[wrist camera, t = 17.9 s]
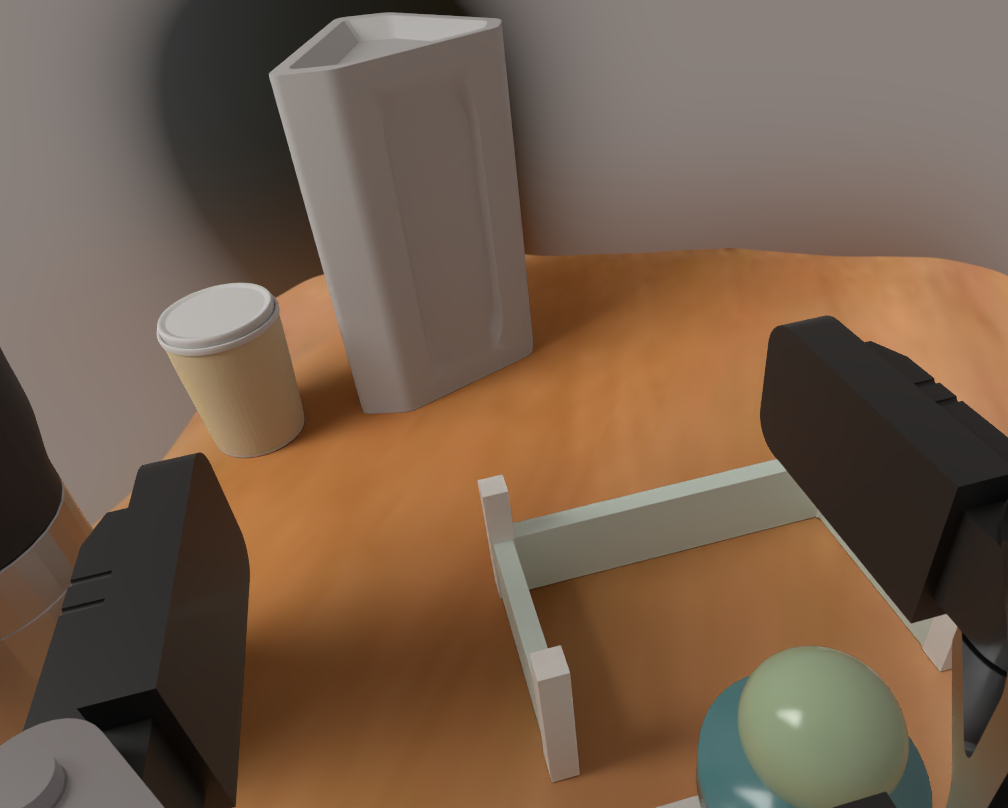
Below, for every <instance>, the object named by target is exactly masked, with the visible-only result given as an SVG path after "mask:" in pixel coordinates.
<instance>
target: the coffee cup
mask: <svg viewBox="0 0 1008 808" xmlns="http://www.w3.org/2000/svg"><path fill="white" fill-rule="evenodd" d="M157 338H158V341H159V343H160V344H161V346H162V347H163V348H164V349H165V350H166V352H167V354H168V356H169V358H170V360H171V362H172V364H173V366H174V368H175V370H176V372H177V373H178V375H179V377H180V379H181V381H182V383H183V385H184V386H185V388H186V390H187V392H188V394H189V396H190V398H191V399H192V401H193V403H194V405H195V406H196V409H197V410H198V412H199V414H200V416H201V418H202V419H203V421H204V423H205V425H206V427H207V429H208V430H209V432H210V434H211V436H212V438H213V439H214V441H215V443H216V444H217V446H218V447H219V449H220V450H221V451H222V452H224V453H225V454H227V455H229V456H232V457H238V458H251V457H258V456H262V455H266V454H269V453H272V452H274V451H276V450H278V449H280V448H282V447H284V446H285V445H287V444H288V443H290V442H291V441H292V440H293V439H295V438H296V436H297V435H298V434H299V433H300V432H301V430H302V428H303V426H304V420H305V418H304V411H303V407H302V402H301V398H300V394H299V390H298V386H297V382H296V378H295V374H294V370H293V365H292V361H291V358H290V354H289V350H288V346H287V342H286V338H285V334H284V330H283V326H282V322H281V319H280V316H279V305H278V302H277V300H276V298H275V297H274V296H273V295H271V293H270V292H269V291H268V290H267V289H265V288H264V287H261V286H259V285H256V284H250V283H231V284H223V285H218V286H213V287H209V288H206V289H203V290H200V291H197V292H195V293H192V294H190V295H188V296H186V297H184V298H182V299H180V300H178V301H177V302H175V303H174V304H172V305H171V306H170V307H168V308H167V309H166V310H165V311H164V312H163V313H162V315H161V316H160V318H159V320H158V325H157Z"/></svg>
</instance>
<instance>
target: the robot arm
mask: <svg viewBox="0 0 1008 808" xmlns="http://www.w3.org/2000/svg"><path fill="white" fill-rule="evenodd" d="M956 397H957V396H956V395H954V394H953V393H952V392H951V391H949V390H948V389H947V388H946V387H944V386H943V385H942V384H941V383H937V384H936V383H935V381H934V378H933V377H932V376H931V375H929V374H928V373H927V372H926V371H924V370H923V369H922V368H921V367H919V366H918V365H917V364H916V363H914V362H913V361H912V360H911V359H909V358H908V357H907V356H904V355H902V354H900V353H897V352H895V351H893V350H890V349H888V348H886V347H883V346H881V345H879V344H876V343H874V342H872V341H869V342H863V341H862V340H861V339H860V338H859V337H857V336H856V335H855V334H854V333H853V332H851V331H850V330H849V329H848V328H847V327H845V326H844V325H843V324H842V323H841V322H839V321H838V320H837V319H836V318H834V317H832V316H827V315H826V316H822V317H817V318H812V319H808V320H803V321H799V322H794V323H790V324H785V325H781V326H777V327H776V328H774V329H773V331H772V332H771V335H770V338H769V343H768V351H767V359H766V367H765V376H764V384H763V392H762V401H761V409H760V421H761V427H762V432H763V435H764V438H765V441H766V443H767V445H768V447H769V449H770V450H771V452H772V453H773V455H774V456H775V457H776V458H777V460H778V461H779V462H780V463H781V465H782V466H783V467H784V468H785V469H786V471H787V472H788V473H789V474H790V476H791V477H792V478H793V479H794V481H795V482H796V483H797V484H798V485H799V487H800V488H801V489H802V490H803V492H804V493H805V494H806V495H807V497H808V498H809V499H810V500H811V501H812V503H813V504H814V505H815V506H816V508H817V509H818V510H819V511H820V513H821V514H822V515H823V516H824V517H825V519H826V520H827V521H828V522H829V524H830V525H831V526H832V527H833V529H834V530H835V531H836V532H837V533H838V535H839V536H840V537H841V538H842V540H843V541H844V542H845V543H846V545H847V546H848V547H849V548H850V549H851V551H852V552H853V553H854V554H855V556H856V557H857V558H858V559H859V561H860V562H861V563H862V564H863V565H864V567H865V568H866V569H867V570H868V572H869V573H870V574H871V575H872V577H873V578H874V579H875V580H876V581H877V583H878V584H879V585H880V586H881V588H882V589H883V590H884V591H885V593H886V594H887V595H888V596H889V597H890V599H891V600H892V601H893V602H894V604H895V605H896V606H897V607H898V609H899V610H900V611H901V612H902V613H903V615H904V616H905V617H906V618H907V620H908V621H909V622H910V623H911V624H912V623H915V622H919V621H923V620H926V619H930V618H934V617H937V616H941V615H944V614H947V615H948V616H949V618H950V619H951V620H952V621H953V622H954V623H955V624H956V626H957V629H956V632H955V634H954V637H953V640H952V781H951V788H950V793H949V798H948V802H947V806H946V808H1008V437H1007V436H1005V435H1004V434H1003V433H1002V432H1000V431H999V430H998V429H997V428H995V427H994V426H993V425H992V424H990V423H989V422H988V421H987V420H985V419H984V418H983V417H982V416H980V415H979V414H978V413H977V412H975V411H974V410H973V409H972V408H970V407H969V406H968V405H967V404H965V403H964V402H963V401H960V402H958V401H957V398H956ZM249 583H250V568H249V559H248V553H247V549H246V545H245V541H244V538H243V535H242V532H241V530H240V528H239V526H238V523H237V521H236V519H235V517H234V515H233V512H232V510H231V508H230V506H229V504H228V501H227V499H226V497H225V495H224V493H223V490H222V488H221V486H220V484H219V482H218V479H217V477H216V475H215V473H214V471H213V468H212V466H211V464H210V462H209V460H208V459H207V457H206V456H205V455H204V454H203V453H195V454H191V455H186V456H182V457H177V458H173V459H168V460H164V461H159V462H155V463H150V464H146V465H142V466H141V467H140V468H139V470H138V473H137V476H136V480H135V484H134V487H133V491H132V495H131V499H130V503H129V507H128V508H126V509H122V510H117V511H113V512H108V513H106V514H105V516H104V517H103V518H102V520H101V521H100V522H99V523H98V525H97V526H96V527H95V528H94V530H93V529H92V527H91V525H90V524H89V522H88V521H87V520H86V518H85V516H84V515H83V513H82V512H81V510H80V508H79V507H78V505H77V504H76V502H75V500H74V499H73V497H72V496H71V494H70V492H69V491H68V489H67V488H66V486H65V485H64V483H63V481H62V479H61V478H60V476H59V475H58V473H57V472H56V470H55V468H54V467H53V465H52V464H51V462H50V460H49V458H48V456H47V453H46V450H45V447H44V444H43V441H42V437H41V434H40V430H39V427H38V424H37V421H36V418H35V414H34V412H33V409H32V407H31V405H30V402H29V400H28V398H27V396H26V394H25V392H24V390H23V389H22V387H21V385H20V383H19V381H18V379H17V377H16V375H15V374H14V372H13V370H12V369H11V367H10V365H9V363H8V361H7V359H6V358H5V356H4V354H3V352H2V350H1V348H0V808H233V807H236V791H237V775H238V759H239V743H240V727H241V711H242V695H243V679H244V663H245V647H246V631H247V615H248V599H249ZM832 808H896V806H895V805H894V803H893V801H892V800H891V798H890V797H889V795H888V794H887V792H886V791H885V792H882V793H879V794H875V795H872V796H869V797H865V798H862V799H859V800H855V801H852V802H849V803H846V804H842V805H839V806H836V807H832Z"/></svg>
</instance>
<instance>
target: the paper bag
mask: <svg viewBox="0 0 1008 808" xmlns="http://www.w3.org/2000/svg"><path fill="white" fill-rule="evenodd" d="M269 77H270V81H271V84H272V88H273V91H274V95H275V98H276V102H277V106H278V109H279V113H280V116H281V120H282V124H283V127H284V131H285V135H286V138H287V142H288V145H289V149H290V152H291V156H292V160H293V163H294V167H295V170H296V174H297V178H298V181H299V185H300V188H301V192H302V196H303V199H304V202H305V206H306V210H307V213H308V217H309V220H310V224H311V228H312V231H313V235H314V239H315V242H316V246H317V249H318V253H319V256H320V260H321V263H322V267H323V271H324V275H325V278H326V282H327V285H328V289H329V292H330V296H331V300H332V303H333V307H334V310H335V314H336V318H337V321H338V325H339V328H340V332H341V336H342V339H343V343H344V346H345V350H346V354H347V357H348V361H349V364H350V368H351V371H352V375H353V379H354V382H355V386H356V389H357V393H358V397H359V400H360V404H361V407H362V411H363V412H364V413H368V414H377V413H399V412H409V411H413V410H416V409H418V408H420V407H422V406H424V405H426V404H428V403H431V402H433V401H435V400H437V399H439V398H441V397H443V396H445V395H447V394H449V393H451V392H454V391H456V390H458V389H460V388H462V387H464V386H466V385H468V384H470V383H472V382H474V381H477V380H479V379H481V378H483V377H485V376H487V375H489V374H491V373H493V372H495V371H497V370H500V369H502V368H504V367H506V366H508V365H510V364H512V363H514V362H516V361H518V360H520V359H523V358H525V357H527V356H528V355H530V354H531V353H532V351H533V333H532V323H531V313H530V303H529V293H528V283H527V273H526V263H525V253H524V244H523V234H522V223H521V215H520V214H521V213H520V203H519V193H518V184H517V174H516V164H515V154H514V144H513V134H512V124H511V114H510V104H509V95H508V84H507V74H506V64H505V54H504V44H503V34H502V24H501V20H500V19H495V18H478V17H460V16H441V15H425V14H407V13H406V14H405V13H378V14H369V15H360V16H351V17H343V18H339V19H335V20H333V21H332V22H331V23H330V24H328V25H327V26H326V27H325V28H323V29H322V30H321V31H320V32H319V33H317V34H316V35H315V36H314V37H313V38H311V39H310V40H309V41H308V42H307V43H305V44H304V45H303V46H302V47H300V48H299V49H298V50H297V51H296V52H294V53H293V54H292V55H291V56H289V57H288V58H287V59H286V60H285V61H284V62H282V63H281V64H280V65H279V66H277V67H276V68H275V69H274V70H272V71H271V72H270V73H269Z"/></svg>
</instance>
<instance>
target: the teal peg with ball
mask: <svg viewBox="0 0 1008 808" xmlns="http://www.w3.org/2000/svg"><path fill="white" fill-rule="evenodd" d="M696 783H697V793H698V798H699V802H700V806H701V808H832V807H836V806H839V805H842V804H846V803H849V802H852V801H855V800H859V799H862V798H865V797H869V796H872V795H875V794H879V793H882V792H885V791H886V792H887V794H888V795H889V797H890V798H891V800H892V801H893V803H894V805H895V806H896V808H932V791H931V786H930V782H929V777H928V774H927V771H926V768H925V765H924V762H923V760H922V758H921V756H920V754H919V752H918V750H917V748H916V747H915V745H914V743H913V742H912V740H911V739H910V737H909V736H908V730H907V725H906V721H905V718H904V715H903V712H902V709H901V707H900V705H899V703H898V701H897V699H896V697H895V696H894V694H893V693H892V691H891V689H890V688H889V687H888V685H887V684H886V683H885V682H884V681H883V679H882V678H881V677H880V676H879V675H878V674H877V673H875V672H874V671H873V670H872V669H871V668H870V667H868V666H867V665H866V664H864V663H863V662H861V661H860V660H858V659H857V658H855V657H853V656H851V655H849V654H847V653H844V652H842V651H839V650H836V649H832V648H828V647H822V646H799V647H793V648H788V649H786V650H783V651H780V652H778V653H776V654H774V655H772V656H770V657H769V658H767V659H766V660H765V661H763V662H762V663H761V664H760V665H759V666H758V667H757V668H756V669H755V670H754V671H753V673H752V674H751V675H750V676H747V677H745V678H743V679H741V680H739V681H737V682H735V683H734V684H732V685H731V686H730V687H728V688H727V689H725V690H724V691H723V692H722V693H721V694H720V695H719V696H718V697H717V699H716V700H715V701H714V702H713V704H712V705H711V706H710V708H709V710H708V712H707V714H706V716H705V718H704V721H703V724H702V727H701V731H700V737H699V745H698V756H697V770H696Z"/></svg>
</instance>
